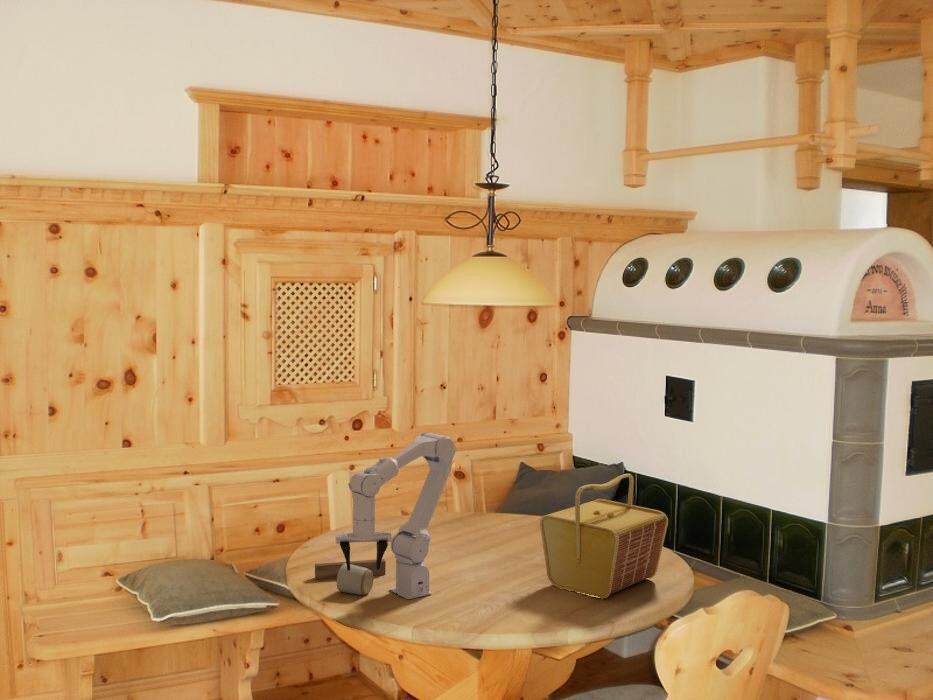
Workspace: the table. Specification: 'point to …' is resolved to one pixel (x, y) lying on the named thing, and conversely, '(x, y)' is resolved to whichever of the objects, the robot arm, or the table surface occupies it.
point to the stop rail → (333, 568)
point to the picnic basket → (602, 543)
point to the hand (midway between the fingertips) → (363, 568)
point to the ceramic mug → (354, 580)
